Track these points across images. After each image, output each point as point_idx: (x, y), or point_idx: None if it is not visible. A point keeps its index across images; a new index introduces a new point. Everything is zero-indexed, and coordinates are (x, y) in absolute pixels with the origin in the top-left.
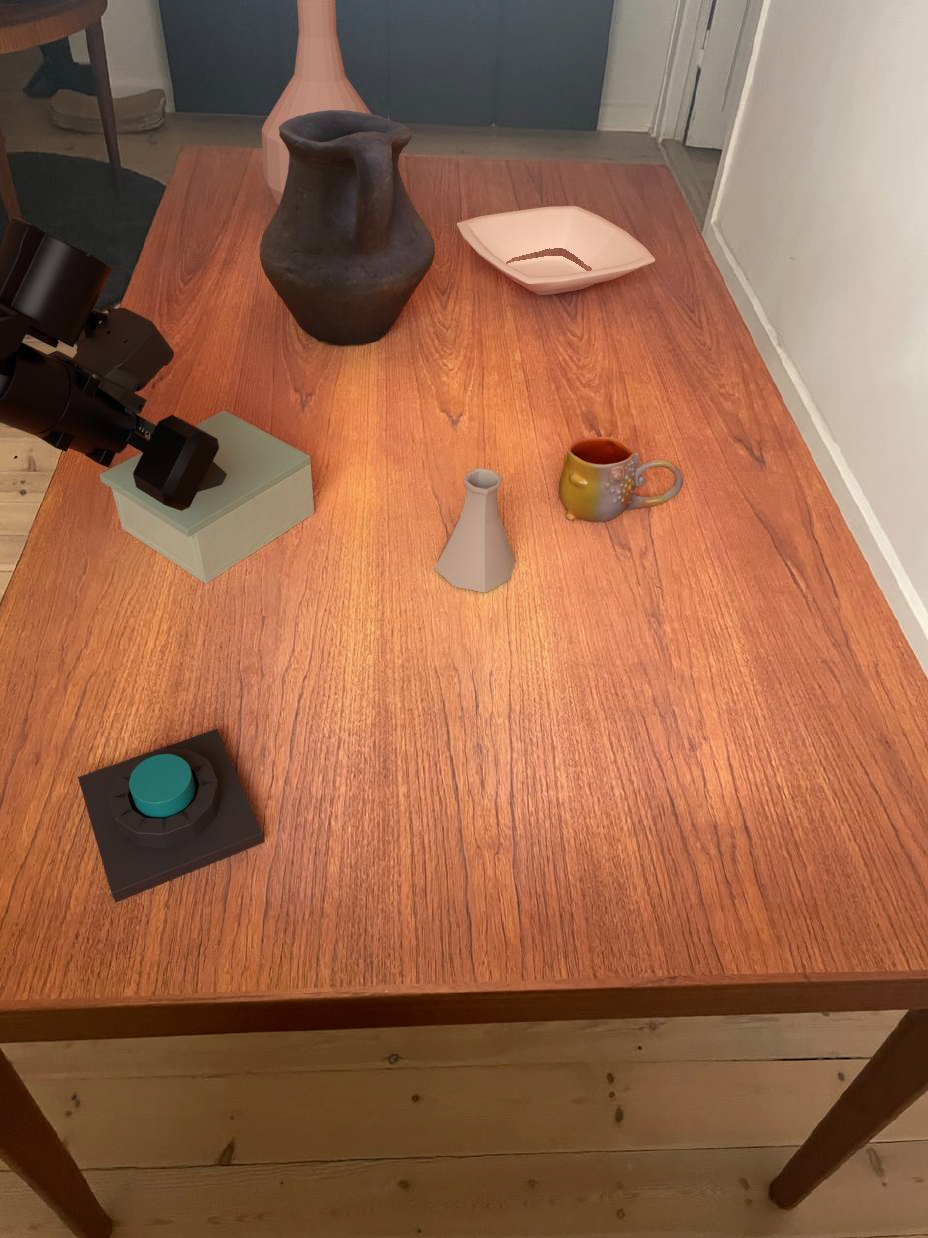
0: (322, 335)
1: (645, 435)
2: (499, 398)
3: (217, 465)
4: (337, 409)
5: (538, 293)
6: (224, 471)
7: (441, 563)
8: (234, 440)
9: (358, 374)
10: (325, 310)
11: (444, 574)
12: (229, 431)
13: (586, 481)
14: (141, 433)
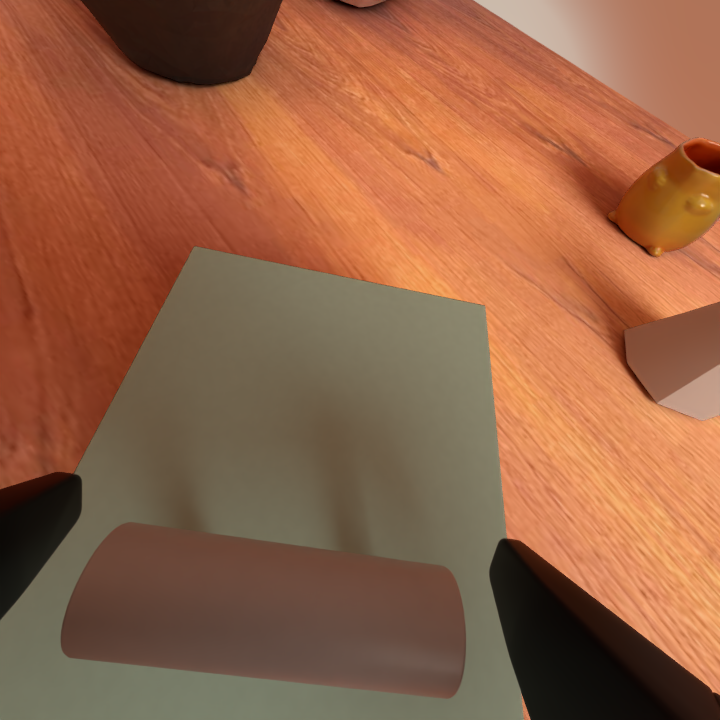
0: (185, 69)
1: (584, 137)
2: (440, 124)
3: (634, 630)
4: (290, 180)
5: (362, 4)
6: (538, 555)
7: (679, 396)
8: (302, 331)
9: (268, 122)
10: (195, 8)
11: (682, 408)
12: (264, 307)
13: (715, 204)
14: (11, 555)
